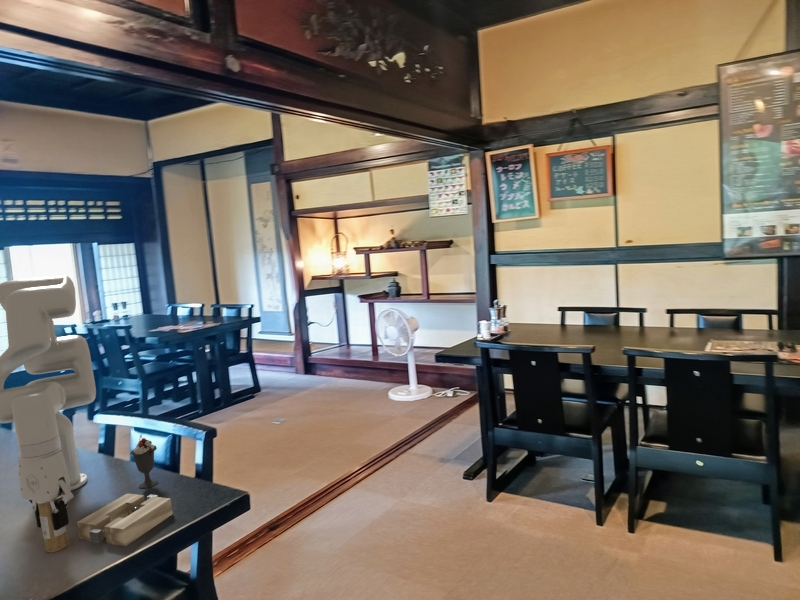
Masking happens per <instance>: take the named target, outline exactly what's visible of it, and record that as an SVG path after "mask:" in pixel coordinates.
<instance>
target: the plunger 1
mask: <svg viewBox="0 0 800 600" xmlns="http://www.w3.org/2000/svg"><path fill="white" fill-rule="evenodd" d="M113 521H114V520H113ZM89 533H90V539H91V541H90V543H95V544H100V543H101V542H103V541H104V538H103V534H104V533H105V529H103V530H98V529H93V530H91V531H90V532H89Z"/></svg>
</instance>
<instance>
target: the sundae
mask: <svg viewBox="0 0 800 600" xmlns="http://www.w3.org/2000/svg"><path fill="white" fill-rule="evenodd" d="M139 439H140V440H139V441H138V442H137V444H136V447H135V448H134V449H132V450H131V451H130V453H129V455H132V456H133V459H134V462H135V465H136V468H137V471H138V472H139V473H142V474H144V481H143V482H141V483H140V484H139V485H138V489H141V490H142V489H143V490H147V489H150V488H154V487H156V485H158V483H159V481H158V480H156V479H151V477H150V472H151V471H152V470H153V468H154V466H155V451H156V450H157V449H158V448H157V446H156V445H154V444H152V441H151V440H149V439H146V438H145V437H142V434H140V435H139Z"/></svg>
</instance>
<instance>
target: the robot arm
mask: <svg viewBox="0 0 800 600" xmlns="http://www.w3.org/2000/svg"><path fill="white" fill-rule="evenodd" d="M0 306H1V307H2V309H3V311H5V320H6V330H7V342H8V343H7V344H8V345H7V346H8V347H7V349H6V350H5V351H4V352H2V354H1V355H0V424H10V423H13V424H14V431H15V438H16V441H17V448H18V452H19V453H18V454H19V455H18V464H17V465H18V482H19V488H20V494H21V498H23V499H25V500H28V502H30V503H31V506H32V507H31V509H32V510H33V511H34V515H35V520H36V526H37V528H39V529H40V528H41V529H42V527H41V521H40V514H39V508H38V504H37V502H36V501H41V502H50V504H51V507H52V510H53V513H51V516H52V522H53V528H54V530H59V529H60V528H62V527H64V526H67V525H69V523H70V521H69V515H68V507H69V504H70V502H71V501H72V500H73V499H74V494H73V493H72V492H73V491H74V490H77V489H79V488H80V487H82V486H83V485H85V484H86V483H87V481H88V475H87V474H85V473H81V471H80V470H81V469H80V463H79V458H78V453H77V452H78V451H77V445H76V441H75V439H76V438H75V433H74V427H73V423H72V422H71V420H70V419H69V418H68V417H67V416H66V415H64V414H63V413H62V412H60V411H63V410H67V409H72V408H76V407H81V406H86V405H89V404H91V403H93V402H94V401H95V399H96V397H97V388H96V381H95V376H94V375H95V374H94V371H93V370H94V369H93V365H92V364H93V362H92V358H91V352H90V348H89V344H88V341H87V340H86V339H85V337H83V336H82V335H80V334H79V335H78V334H72V335H65V336H58V335H57V334H56V330H55V324H54V320H53V319H55V320H56V319H62V318H69V317H72V316H74V314H75V311H76V307H77V301H76V287H75V284H74V282H73V280H72V279H71V277H70V276H68V275H63V274H62V275H52V276H40V277H39V276H38V277H28V278H18V279H13V280H12V279H11V280H10V279H9V280H7V281H4V282H0ZM21 366H23V368H24V369H25V372H27V373H28V374H30V375H43V374H48V373H49V374H50V373H56V372H61V371H68V370H69V371H70V370H71V371H73V372H74V373H69V374H61V375H56V376H55V375H54V376H49V377H43V378H39V379H35V380H32V381H30V382H28V383H27V384H25V385H21V386H16V387H10V388H4V386H5V382H6V380H7V378H8V377H9V376H10V375H11V373H13V372H14V371H16V370H17V369H19V368H20V367H21ZM58 493H59V495H58ZM58 499H60V501H59V503H58V504H57V503H56V500H58Z"/></svg>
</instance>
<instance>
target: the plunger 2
mask: <svg viewBox="0 0 800 600" xmlns="http://www.w3.org/2000/svg"><path fill="white" fill-rule="evenodd" d="M151 497H159V495H157V494H149V495H147V496H146V500H148V499H149V498H151ZM140 508H141V506H140V507H134V508H133V509H132V513H133V512H135V511H137V510H138V509H140Z"/></svg>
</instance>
